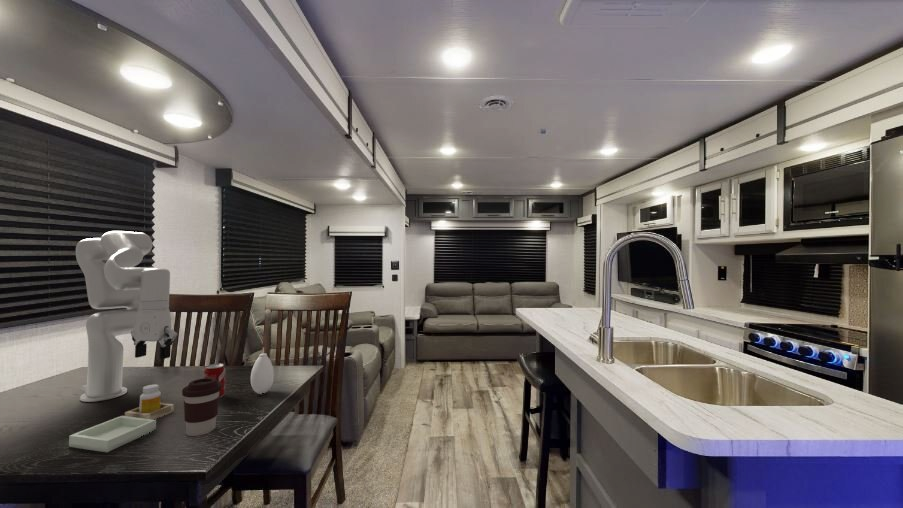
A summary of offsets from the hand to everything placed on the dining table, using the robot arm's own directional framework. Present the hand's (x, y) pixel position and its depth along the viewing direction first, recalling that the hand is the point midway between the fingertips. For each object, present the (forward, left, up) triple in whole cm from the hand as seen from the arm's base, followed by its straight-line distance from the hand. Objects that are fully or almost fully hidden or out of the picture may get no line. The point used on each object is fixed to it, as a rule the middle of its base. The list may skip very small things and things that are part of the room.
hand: (152, 357), depth 117 cm
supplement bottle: (0, 0, -19) cm, 19 cm away
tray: (+5, -14, -19) cm, 24 cm away
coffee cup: (+25, -5, -19) cm, 32 cm away
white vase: (+21, +26, -19) cm, 38 cm away
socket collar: (0, 0, -19) cm, 19 cm away
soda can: (+7, +18, -19) cm, 27 cm away
